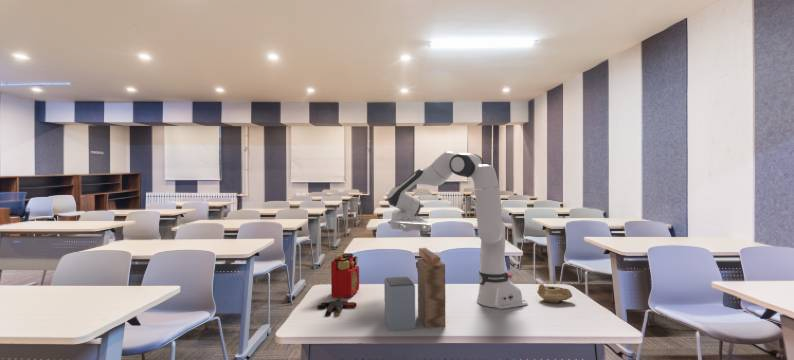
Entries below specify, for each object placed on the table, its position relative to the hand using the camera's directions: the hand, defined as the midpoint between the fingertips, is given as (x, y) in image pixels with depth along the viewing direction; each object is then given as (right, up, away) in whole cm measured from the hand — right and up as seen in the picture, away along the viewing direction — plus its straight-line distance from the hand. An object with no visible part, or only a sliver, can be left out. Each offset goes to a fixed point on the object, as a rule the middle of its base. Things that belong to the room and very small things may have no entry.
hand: (415, 229), depth 177 cm
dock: (-8, -33, -31) cm, 46 cm away
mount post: (+5, -33, -28) cm, 44 cm away
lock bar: (+4, -9, -25) cm, 27 cm away
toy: (-36, -34, -14) cm, 52 cm away
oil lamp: (+65, -33, -4) cm, 73 cm away
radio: (-34, -34, +9) cm, 49 cm away
